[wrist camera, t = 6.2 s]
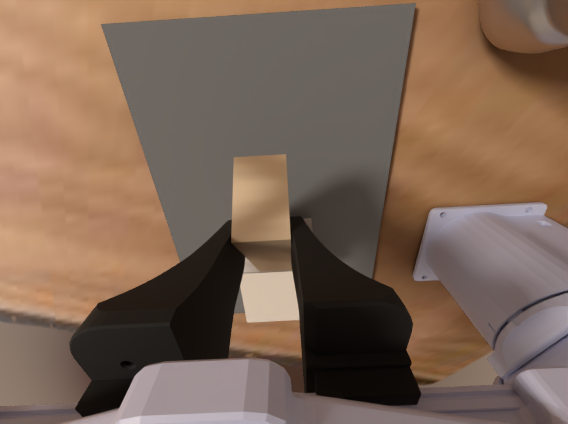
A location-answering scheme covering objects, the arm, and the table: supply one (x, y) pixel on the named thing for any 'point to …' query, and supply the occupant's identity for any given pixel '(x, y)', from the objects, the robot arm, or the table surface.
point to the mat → (269, 114)
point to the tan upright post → (262, 213)
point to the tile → (269, 297)
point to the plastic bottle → (525, 24)
